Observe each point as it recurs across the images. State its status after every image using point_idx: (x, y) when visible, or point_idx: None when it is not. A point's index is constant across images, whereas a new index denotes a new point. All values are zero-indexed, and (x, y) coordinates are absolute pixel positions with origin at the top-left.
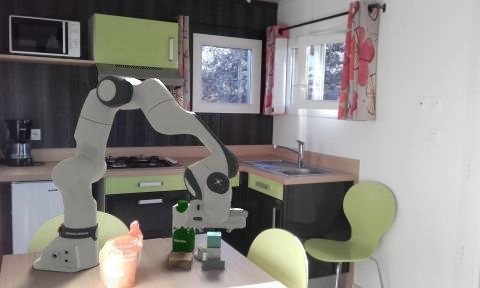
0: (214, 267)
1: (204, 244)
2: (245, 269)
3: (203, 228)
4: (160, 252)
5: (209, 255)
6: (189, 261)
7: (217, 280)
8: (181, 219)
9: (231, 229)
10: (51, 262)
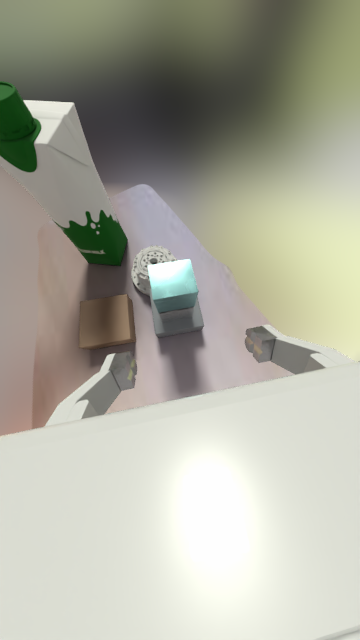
0: (181, 332)
1: (146, 257)
2: (241, 323)
3: (131, 383)
4: (67, 276)
5: (167, 318)
6: (127, 340)
7: (199, 393)
8: (52, 199)
9: (290, 369)
10: None
